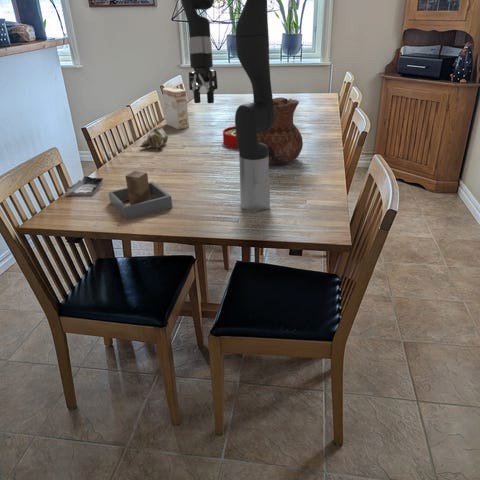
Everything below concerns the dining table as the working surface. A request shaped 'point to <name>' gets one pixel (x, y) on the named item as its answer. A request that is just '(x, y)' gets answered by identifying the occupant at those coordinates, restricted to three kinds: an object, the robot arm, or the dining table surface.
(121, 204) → the box
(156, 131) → the ceramic sculpture
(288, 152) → the jug
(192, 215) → the dining table surface
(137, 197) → the walnut block
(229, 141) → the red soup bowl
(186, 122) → the coffeecake box
